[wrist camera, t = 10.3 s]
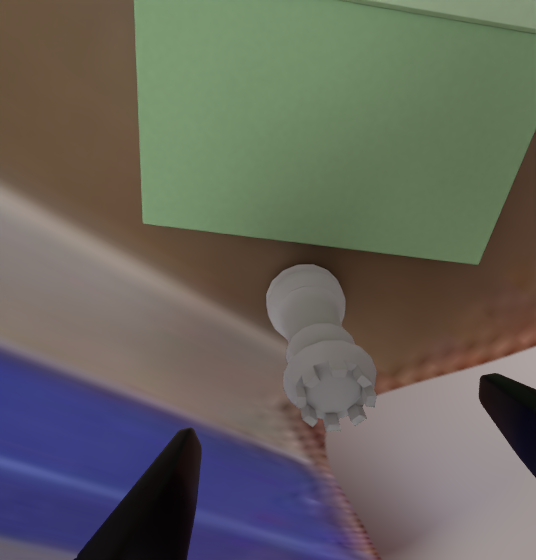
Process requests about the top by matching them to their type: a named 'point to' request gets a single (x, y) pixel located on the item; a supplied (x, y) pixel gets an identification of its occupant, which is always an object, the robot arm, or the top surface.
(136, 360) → the top surface
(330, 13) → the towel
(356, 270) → the top surface
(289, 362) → the rook chess piece
